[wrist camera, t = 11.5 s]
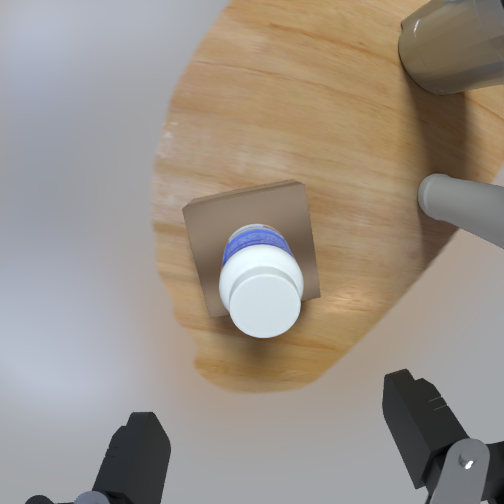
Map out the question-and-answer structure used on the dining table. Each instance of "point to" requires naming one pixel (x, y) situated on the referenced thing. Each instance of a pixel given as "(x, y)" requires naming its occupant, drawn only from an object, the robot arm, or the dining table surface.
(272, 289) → the pill bottle
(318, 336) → the dining table surface
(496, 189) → the bottle
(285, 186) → the walnut block
